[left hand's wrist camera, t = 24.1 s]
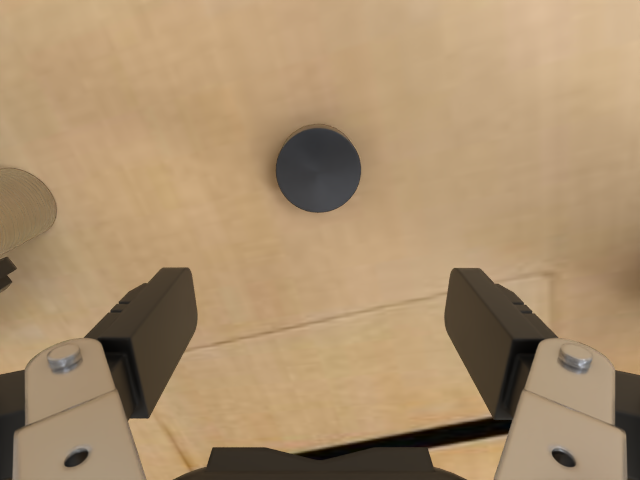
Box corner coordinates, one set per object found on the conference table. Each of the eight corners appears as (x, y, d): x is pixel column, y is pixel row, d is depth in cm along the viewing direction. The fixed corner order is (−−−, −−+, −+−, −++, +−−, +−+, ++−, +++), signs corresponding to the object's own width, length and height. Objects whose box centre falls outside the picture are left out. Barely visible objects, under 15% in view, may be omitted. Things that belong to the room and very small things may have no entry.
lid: (354, 120, 21) (358, 123, 19) (358, 198, 23) (363, 208, 21) (273, 128, 21) (269, 132, 19) (284, 205, 23) (282, 216, 21)
